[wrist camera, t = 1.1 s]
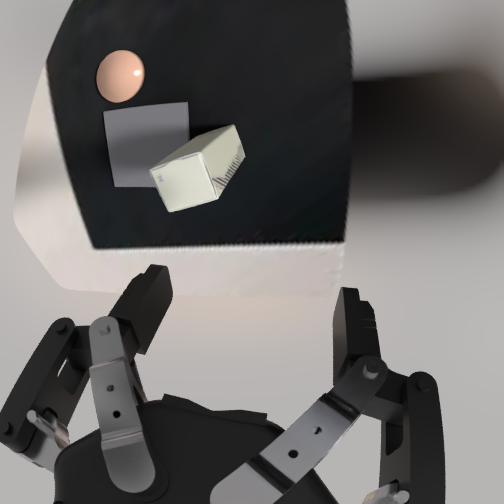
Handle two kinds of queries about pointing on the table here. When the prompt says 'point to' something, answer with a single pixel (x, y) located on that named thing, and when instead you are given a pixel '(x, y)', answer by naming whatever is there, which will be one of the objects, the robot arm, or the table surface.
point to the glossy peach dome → (120, 76)
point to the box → (198, 169)
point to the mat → (144, 140)
